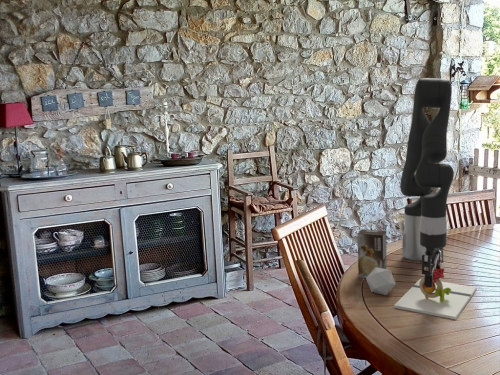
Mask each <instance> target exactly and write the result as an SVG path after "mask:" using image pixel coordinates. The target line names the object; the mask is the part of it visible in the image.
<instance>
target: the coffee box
mask: <svg viewBox="0 0 500 375" xmlns="http://www.w3.org/2000/svg"><path fill="white" fill-rule="evenodd" d="M387 262H388V261H387V230H379V229H378V230H376V229H375V230H374V229H365V228H364V229H363V228H362V229H360V230H359V231H358V233H357V264H358V266H357V273H358V278H362V279H366V278H367V277H368V275H369V274H370V273H371V272H372V271H373V270H374V268H375V267H377V268H383V269H388V266H387V265H388V264H387Z"/></svg>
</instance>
